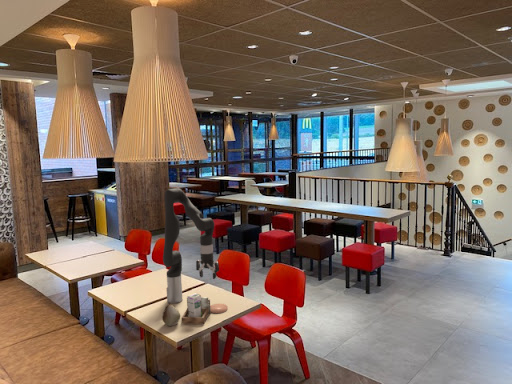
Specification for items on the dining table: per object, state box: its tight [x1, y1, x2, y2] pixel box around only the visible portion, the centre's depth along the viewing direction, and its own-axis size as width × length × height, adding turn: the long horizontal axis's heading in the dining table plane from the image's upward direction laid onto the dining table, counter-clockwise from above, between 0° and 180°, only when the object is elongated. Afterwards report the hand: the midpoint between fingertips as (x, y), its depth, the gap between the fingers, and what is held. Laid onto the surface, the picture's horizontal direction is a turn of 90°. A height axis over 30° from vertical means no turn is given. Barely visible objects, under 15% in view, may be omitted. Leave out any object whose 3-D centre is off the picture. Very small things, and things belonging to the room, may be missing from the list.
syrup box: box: [186, 292, 203, 317], centre depth 224 cm, size 6×6×14 cm
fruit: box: [161, 302, 181, 327], centre depth 218 cm, size 10×9×12 cm
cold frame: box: [180, 296, 212, 325], centre depth 225 cm, size 14×14×10 cm
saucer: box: [210, 303, 229, 314], centre depth 237 cm, size 12×12×1 cm
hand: (208, 277), depth 229 cm, fingers open, 8 cm apart
